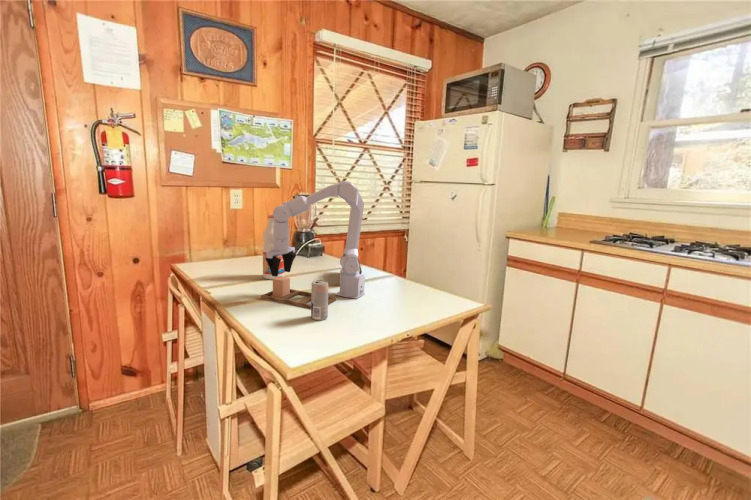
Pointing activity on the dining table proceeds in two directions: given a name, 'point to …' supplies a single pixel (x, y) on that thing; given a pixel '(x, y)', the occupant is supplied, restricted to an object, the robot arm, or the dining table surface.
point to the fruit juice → (267, 248)
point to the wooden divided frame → (295, 298)
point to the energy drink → (319, 300)
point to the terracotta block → (281, 286)
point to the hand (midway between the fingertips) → (281, 273)
